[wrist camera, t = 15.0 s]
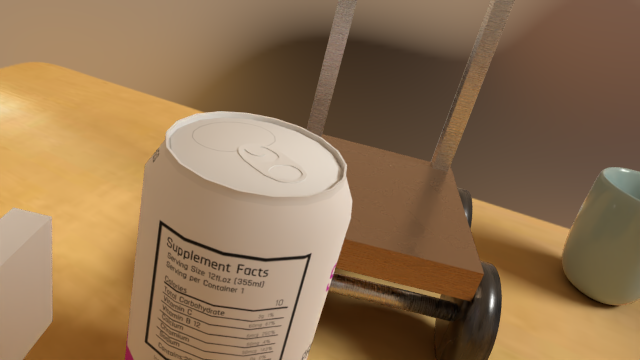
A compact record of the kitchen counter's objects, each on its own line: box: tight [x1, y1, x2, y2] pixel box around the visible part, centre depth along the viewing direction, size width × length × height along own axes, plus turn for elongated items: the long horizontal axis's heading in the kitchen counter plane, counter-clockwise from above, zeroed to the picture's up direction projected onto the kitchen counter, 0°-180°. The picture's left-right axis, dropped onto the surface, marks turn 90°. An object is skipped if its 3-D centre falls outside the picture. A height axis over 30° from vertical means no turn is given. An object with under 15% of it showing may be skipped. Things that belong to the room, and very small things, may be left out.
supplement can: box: [125, 111, 352, 360], centre depth 24 cm, size 8×8×15 cm
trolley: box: [307, 0, 515, 360], centre depth 34 cm, size 15×17×27 cm
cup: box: [562, 167, 640, 305], centre depth 45 cm, size 8×8×10 cm
